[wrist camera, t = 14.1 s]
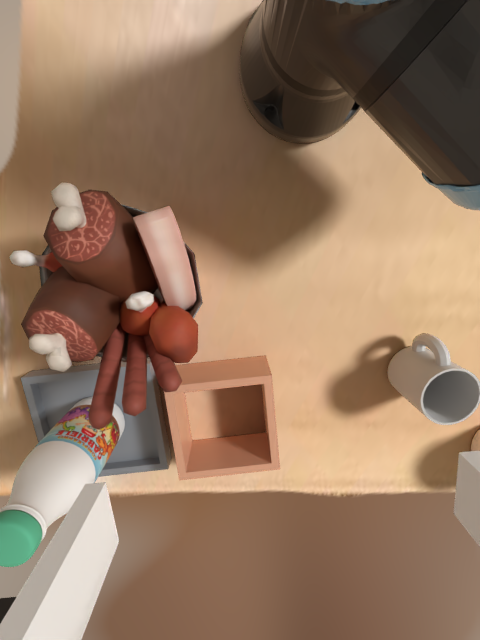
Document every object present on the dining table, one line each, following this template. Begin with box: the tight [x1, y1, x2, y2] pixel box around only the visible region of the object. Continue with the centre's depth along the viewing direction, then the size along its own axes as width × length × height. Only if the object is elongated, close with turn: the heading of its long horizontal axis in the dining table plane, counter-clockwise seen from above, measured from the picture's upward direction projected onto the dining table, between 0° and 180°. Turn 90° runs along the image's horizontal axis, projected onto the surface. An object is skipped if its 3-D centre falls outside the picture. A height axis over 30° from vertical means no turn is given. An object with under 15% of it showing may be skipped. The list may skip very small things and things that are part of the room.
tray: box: [21, 358, 171, 477], centre depth 46 cm, size 16×17×2 cm
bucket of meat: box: [9, 182, 202, 430], centre depth 34 cm, size 20×16×20 cm
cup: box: [387, 333, 480, 425], centre depth 43 cm, size 7×10×9 cm
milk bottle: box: [0, 397, 125, 567], centre depth 37 cm, size 8×8×20 cm
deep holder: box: [164, 356, 280, 480], centre depth 44 cm, size 13×13×7 cm
